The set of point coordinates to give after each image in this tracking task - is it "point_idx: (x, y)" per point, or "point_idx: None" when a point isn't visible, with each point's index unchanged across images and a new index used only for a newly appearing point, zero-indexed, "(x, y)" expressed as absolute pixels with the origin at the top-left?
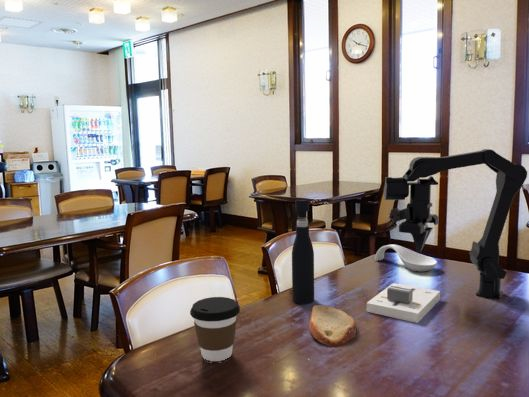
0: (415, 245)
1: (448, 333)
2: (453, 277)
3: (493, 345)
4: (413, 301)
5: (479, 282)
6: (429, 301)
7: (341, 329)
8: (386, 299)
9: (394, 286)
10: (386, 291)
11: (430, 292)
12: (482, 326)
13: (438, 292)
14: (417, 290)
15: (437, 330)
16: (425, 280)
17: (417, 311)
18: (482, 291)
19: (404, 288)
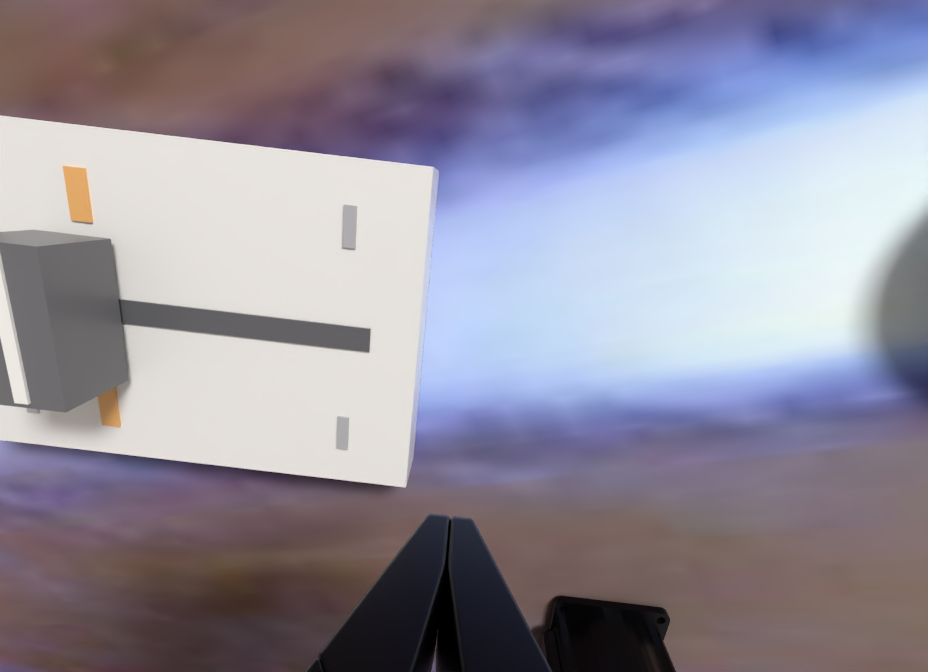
0: (373, 585)
1: (20, 534)
2: (877, 475)
3: (34, 659)
4: (135, 383)
5: (611, 666)
6: (195, 460)
7: None
8: (54, 219)
9: (41, 274)
10: (207, 172)
11: (345, 445)
12: (180, 628)
13: (378, 482)
14: (351, 367)
15: (16, 495)
16: (762, 329)
17: (3, 430)
18: (547, 647)
19: (52, 355)
